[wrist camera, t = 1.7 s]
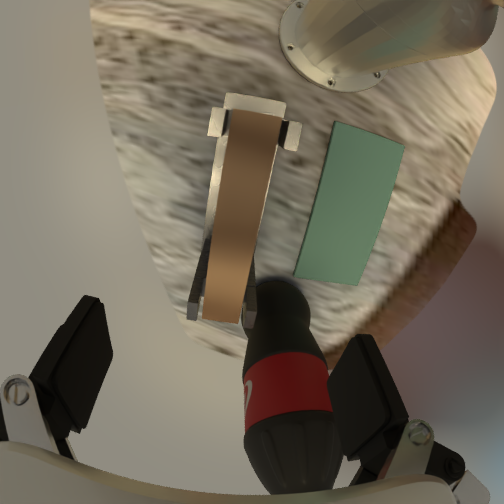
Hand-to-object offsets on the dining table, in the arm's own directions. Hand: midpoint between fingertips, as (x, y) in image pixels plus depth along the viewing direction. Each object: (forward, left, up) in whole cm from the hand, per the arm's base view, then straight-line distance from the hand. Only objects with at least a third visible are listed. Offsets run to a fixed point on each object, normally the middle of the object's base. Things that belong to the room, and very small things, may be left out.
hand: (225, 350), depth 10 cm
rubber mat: (0, +13, -22) cm, 26 cm away
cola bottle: (+14, +7, -23) cm, 27 cm away
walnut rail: (0, 0, -13) cm, 13 cm away
